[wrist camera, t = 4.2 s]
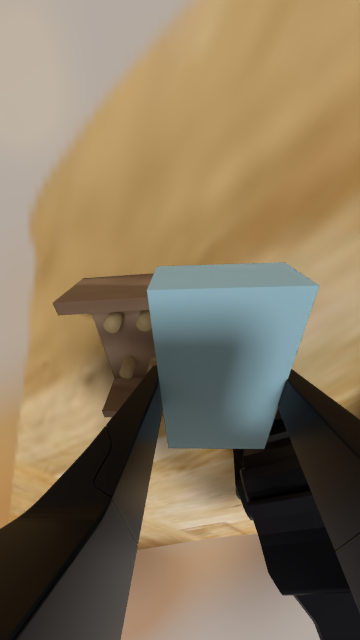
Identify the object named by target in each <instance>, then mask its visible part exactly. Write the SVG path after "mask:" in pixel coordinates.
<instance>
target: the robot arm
mask: <svg viewBox="0 0 360 640" xmlns="http://www.w3.org/2000/svg"><path fill="white" fill-rule="evenodd" d="M161 415H162V398H161V391H160V383H159V376H158V369H157V365H154V366H152V367H151V369H150V370H149V371H148V373H147V374H146V375H145V376H144V378H143V379H142V380H141V381H140V383H139V384H138V385H137V387H136V388H135V389H134V390H133V392H132V393H131V394H130V395H129V397H128V398H127V399H126V400H125V402H124V403H123V404H122V406H121V407H120V408H119V409H118V411H117V412H116V413H115V414H114V416H113V417H112V418H111V419H110V421H109V422H108V423H107V425H106V426H105V427H104V428H103V429H102V431H101V432H100V433H99V435H98V436H97V437H96V438H95V439H94V441H93V442H92V443H91V444H90V445H89V447H88V448H87V449H86V450H85V451H84V452H83V453H82V454H81V456H80V457H79V458H78V459H77V460H76V461H75V462H74V463H73V464H72V465H71V466H70V467H69V468H68V470H67V471H66V472H65V473H64V474H63V475H62V476H61V477H60V478H59V479H58V480H57V481H56V482H55V483H54V484H53V485H52V487H51V488H50V489H49V490H48V491H47V492H46V493H45V494H44V495H43V496H42V497H41V498H40V499H39V500H38V501H37V502H36V503H35V504H34V505H33V506H32V507H31V508H29V509H28V510H27V511H26V512H25V513H23V514H22V515H21V516H19V517H18V518H17V519H15V520H13V521H12V522H10V523H9V524H7V525H6V526H4V527H2V528H1V529H0V640H120V639H121V633H122V628H123V623H124V617H125V612H126V607H127V601H128V596H129V590H130V585H131V579H132V574H133V568H134V562H135V558H136V552H137V547H138V545H137V544H138V541H139V536H140V530H141V525H142V519H143V514H144V508H145V503H146V497H147V492H148V486H149V481H150V476H151V470H152V465H153V459H154V454H155V448H156V443H157V437H158V432H159V426H160V421H161ZM233 453H234V468H235V484H236V495H237V497H238V498H239V499H240V500H241V502H242V504H243V507H244V509H245V512H246V514H247V515H248V517H249V518H250V520H253V521H254V524H255V527H256V530H257V533H258V536H259V540H260V543H261V546H262V550H263V554H264V558H265V562H266V566H267V569H268V573H269V575H270V576H271V578H272V580H273V581H274V583H275V585H276V586H277V588H278V589H279V591H280V592H281V594H282V595H293V596H294V597H295V598H296V599H297V601H298V602H299V603H300V605H301V606H302V607H303V609H304V610H305V611H306V612H307V614H308V615H309V616H310V618H311V619H312V620H313V622H314V624H315V626H316V629H317V632H318V634H319V637H320V640H360V419H358V418H357V417H356V416H354V415H353V414H352V413H350V412H349V411H348V410H346V409H345V408H344V407H342V406H341V405H339V404H338V403H337V402H335V401H334V400H333V399H331V398H330V397H329V396H327V395H326V394H325V393H323V392H322V391H321V390H319V389H318V388H317V387H315V386H314V385H313V384H311V383H310V382H308V381H307V380H306V379H304V378H303V377H302V376H300V375H299V374H298V373H296V372H295V371H294V370H292V369H291V371H290V374H289V377H288V379H287V380H286V382H285V385H284V388H283V391H282V394H281V397H280V400H279V403H278V410H277V413H276V416H275V419H274V422H273V424H272V427H271V430H270V433H269V436H268V439H267V442H266V445H265V448H264V449H233Z"/></svg>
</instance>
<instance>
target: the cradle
mask: <svg viewBox="0 0 360 640" xmlns="http://www.w3.org/2000/svg"><path fill="white" fill-rule="evenodd" d="M153 275H154V274H140V275H126V276H112V277H97V278H83V279H82V280H81V281H79V282H78V283H77V284H76V285H74V286H73V287H72V288H71V289H69V290H68V291H67V292H66V293H64V294H63V295H62V296H61V297H60V298H58V299H57V300H56V301H55V302H53V305H54V307H55V310H56V312H57V314H58V315H71V314H88V313H92V315H93V318H94V321H95V324H96V327H97V330H98V332H99V335H100V338H101V341H102V344H103V346H104V349H105V352H106V355H107V358H108V361H109V363H110V366H111V369H112V372H113V375H114V378H115V379H114V382H113V385H112V387H111V390H110V392H109V395H108V397H107V400H106V403H105V405H104V408H103V410H102V412H103V414H104V417H113V416H114V414H115V413H116V412H117V411H118V409H119V408H120V407H121V406H122V404H123V403H124V402H125V400H126V399H127V398H128V397H129V395H130V394H131V393H132V392H133V390H134V389H135V388H136V387H137V385H138V384H139V383H140V381H141V380H142V379H143V378H144V376H145V375H146V374H147V373H148V371H149V370H150V369H151V367H152V366H154V365H157V361H156V354H155V346H154V339H153V332H152V324H151V317H150V310H149V302H148V295H147V289H148V286H149V284H150V282H151V279H152V277H153ZM161 416H164V413H163V405H162V415H161Z"/></svg>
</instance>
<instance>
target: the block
mask: <svg viewBox="0 0 360 640" xmlns="http://www.w3.org/2000/svg"><path fill="white" fill-rule="evenodd" d="M318 288H319V285H318V284H316V283H315V282H313V281H312V280H310V279H309V278H307V277H306V276H304V275H303V274H301V273H300V272H298V271H297V270H295V269H294V268H292V267H291V266H289V265H288V264H286V263H285V262H283V263H252V264H221V265H191V266H160V267H157V268H156V270H155V272H154V275H153V277H152V279H151V282H150V284H149V286H148V289H147V295H148V302H149V310H150V317H151V324H152V332H153V339H154V346H155V354H156V361H157V369H158V376H159V383H160V391H161V398H162V405H163V413H164V420H165V428H166V435H167V442H168V448H210V449H264V448H265V445H266V442H267V439H268V436H269V433H270V430H271V427H272V424H273V422H274V419H275V416H276V413H277V410H278V403H279V400H280V397H281V394H282V391H283V388H284V385H285V382H286V380H287V379H288V377H289V374H290V371H291V368H292V365H293V362H294V359H295V356H296V353H297V350H298V347H299V344H300V341H301V339H302V336H303V333H304V330H305V327H306V324H307V321H308V318H309V315H310V312H311V309H312V306H313V303H314V300H315V297H316V294H317V291H318Z"/></svg>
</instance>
